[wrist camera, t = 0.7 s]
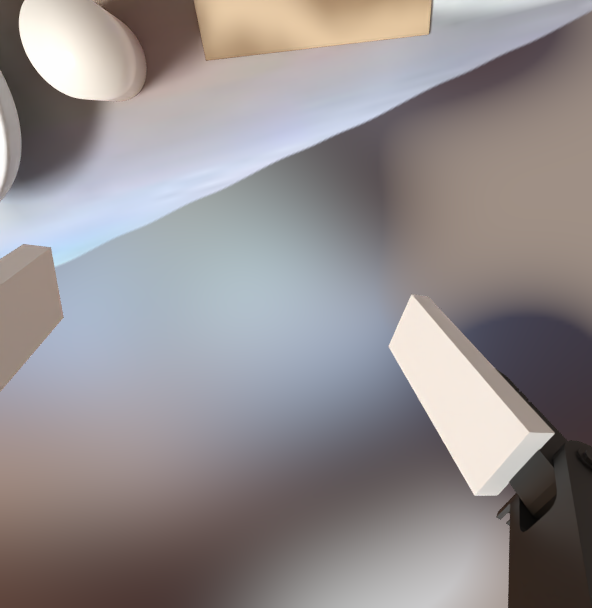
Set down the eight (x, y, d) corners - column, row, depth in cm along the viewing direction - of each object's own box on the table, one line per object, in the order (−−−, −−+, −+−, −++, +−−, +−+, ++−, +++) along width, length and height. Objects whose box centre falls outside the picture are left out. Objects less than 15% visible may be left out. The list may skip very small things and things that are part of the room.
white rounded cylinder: (53, 16, 27) (-2, -11, 21) (131, 8, 27) (98, -21, 21) (87, 105, 30) (48, 104, 24) (156, 97, 31) (133, 93, 25)
